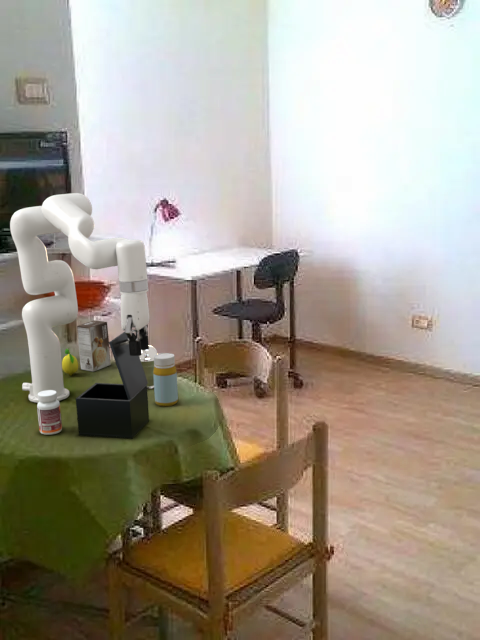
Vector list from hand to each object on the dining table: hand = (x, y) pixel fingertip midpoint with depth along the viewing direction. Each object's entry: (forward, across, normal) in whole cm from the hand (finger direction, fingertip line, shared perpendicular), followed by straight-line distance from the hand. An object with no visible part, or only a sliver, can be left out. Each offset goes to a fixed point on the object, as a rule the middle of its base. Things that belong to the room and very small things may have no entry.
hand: (139, 351), depth 211 cm
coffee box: (+21, -55, -38) cm, 70 cm away
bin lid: (+3, 0, -4) cm, 5 cm away
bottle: (+22, -22, -1) cm, 32 cm away
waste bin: (+22, 0, -10) cm, 24 cm away
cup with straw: (+22, -36, -12) cm, 44 cm away
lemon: (+21, -45, -43) cm, 66 cm away
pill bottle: (+22, +4, -27) cm, 35 cm away
